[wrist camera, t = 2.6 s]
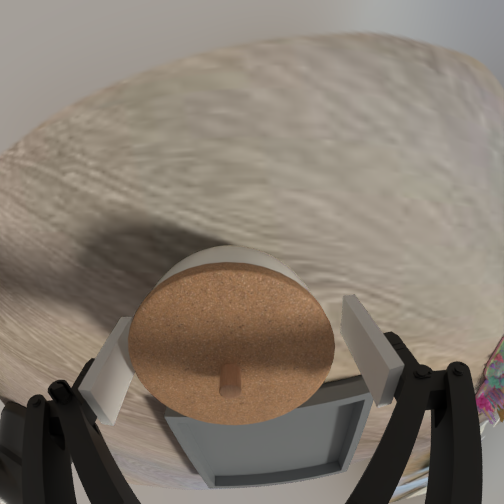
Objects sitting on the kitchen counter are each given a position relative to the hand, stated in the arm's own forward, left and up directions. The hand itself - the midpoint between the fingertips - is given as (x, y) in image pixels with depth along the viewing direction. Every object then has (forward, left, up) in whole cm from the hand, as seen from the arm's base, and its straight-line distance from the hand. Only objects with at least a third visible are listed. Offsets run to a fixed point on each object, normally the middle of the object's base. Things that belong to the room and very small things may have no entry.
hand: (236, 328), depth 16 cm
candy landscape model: (+46, -22, -5) cm, 52 cm away
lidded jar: (0, 0, -5) cm, 5 cm away
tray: (+2, -21, -4) cm, 22 cm away
